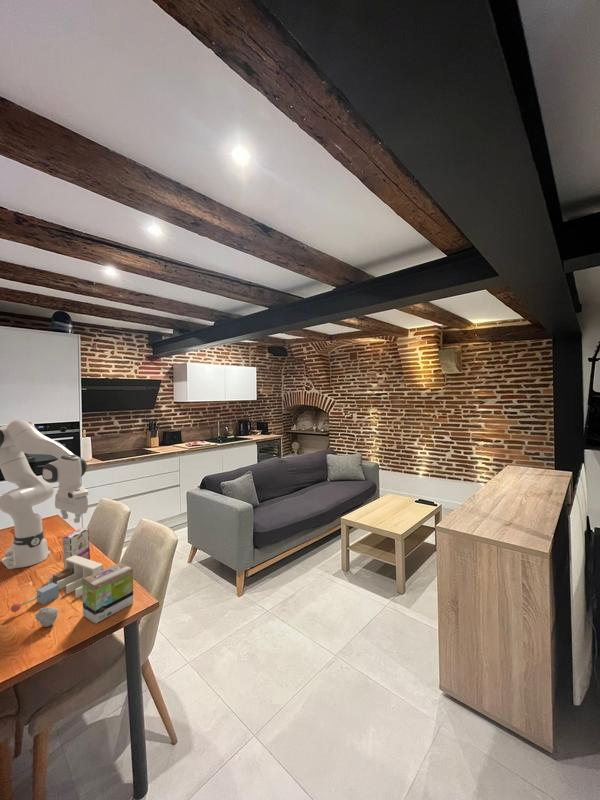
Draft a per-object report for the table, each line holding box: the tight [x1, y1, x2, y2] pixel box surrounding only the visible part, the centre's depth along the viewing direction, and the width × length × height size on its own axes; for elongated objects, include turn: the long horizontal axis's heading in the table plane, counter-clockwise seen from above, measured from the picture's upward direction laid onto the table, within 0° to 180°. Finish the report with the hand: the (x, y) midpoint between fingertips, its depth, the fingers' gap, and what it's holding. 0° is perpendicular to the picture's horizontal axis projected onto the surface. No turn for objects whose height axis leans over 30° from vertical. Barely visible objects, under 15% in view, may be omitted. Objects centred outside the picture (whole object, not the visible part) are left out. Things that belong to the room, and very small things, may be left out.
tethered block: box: [10, 583, 60, 613], centre depth 139 cm, size 4×16×5 cm, turn 153°
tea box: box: [82, 562, 134, 624], centre depth 135 cm, size 15×10×15 cm
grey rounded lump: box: [34, 606, 59, 628], centre depth 126 cm, size 6×7×7 cm
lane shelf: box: [47, 555, 104, 599], centre depth 153 cm, size 21×12×9 cm, turn 63°
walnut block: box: [52, 569, 73, 584], centre depth 155 cm, size 4×6×5 cm
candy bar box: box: [62, 527, 91, 570], centre depth 171 cm, size 11×5×16 cm, turn 168°
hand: (71, 520), depth 157 cm, fingers open, 8 cm apart
